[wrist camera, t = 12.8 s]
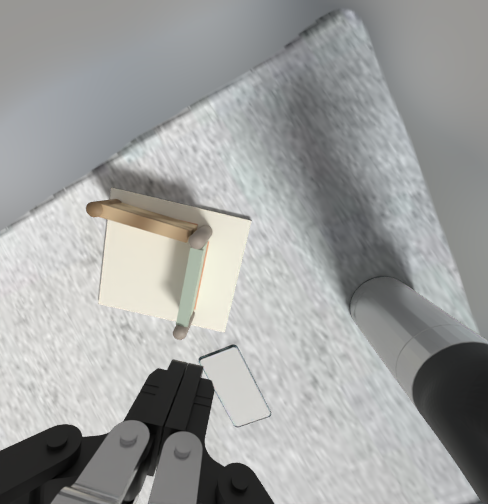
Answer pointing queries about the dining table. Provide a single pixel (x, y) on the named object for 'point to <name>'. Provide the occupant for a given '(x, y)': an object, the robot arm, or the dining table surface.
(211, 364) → the smartphone
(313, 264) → the dining table surface
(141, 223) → the fence gate
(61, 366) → the dining table surface
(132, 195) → the card
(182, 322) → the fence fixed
